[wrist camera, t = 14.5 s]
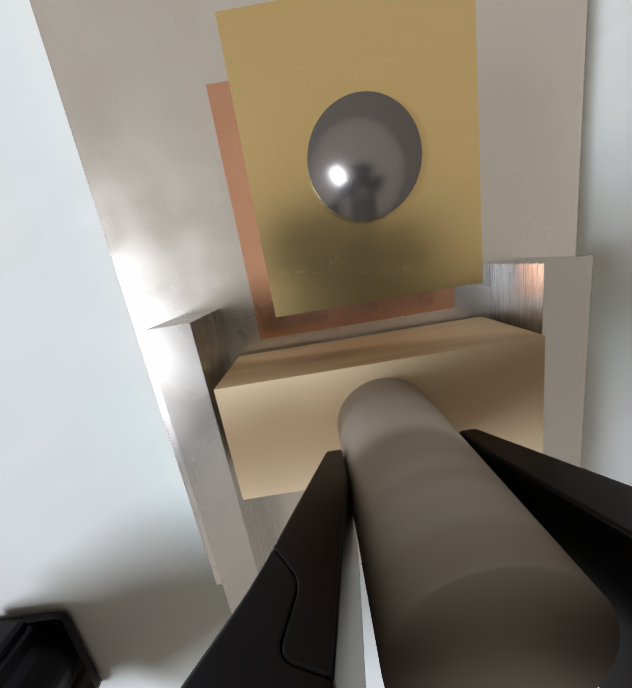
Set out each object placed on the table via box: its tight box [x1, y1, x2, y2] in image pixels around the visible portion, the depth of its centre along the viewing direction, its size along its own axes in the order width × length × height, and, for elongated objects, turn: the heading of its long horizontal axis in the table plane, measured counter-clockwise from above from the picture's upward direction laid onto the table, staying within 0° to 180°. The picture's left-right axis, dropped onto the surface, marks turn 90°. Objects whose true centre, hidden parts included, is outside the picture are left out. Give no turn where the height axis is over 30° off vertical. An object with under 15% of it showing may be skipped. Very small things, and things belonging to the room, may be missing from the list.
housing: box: [215, 0, 483, 317], centre depth 9 cm, size 6×5×5 cm
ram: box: [214, 316, 620, 688], centre depth 8 cm, size 4×10×10 cm, turn 99°
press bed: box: [30, 0, 593, 615], centre depth 12 cm, size 26×18×4 cm
